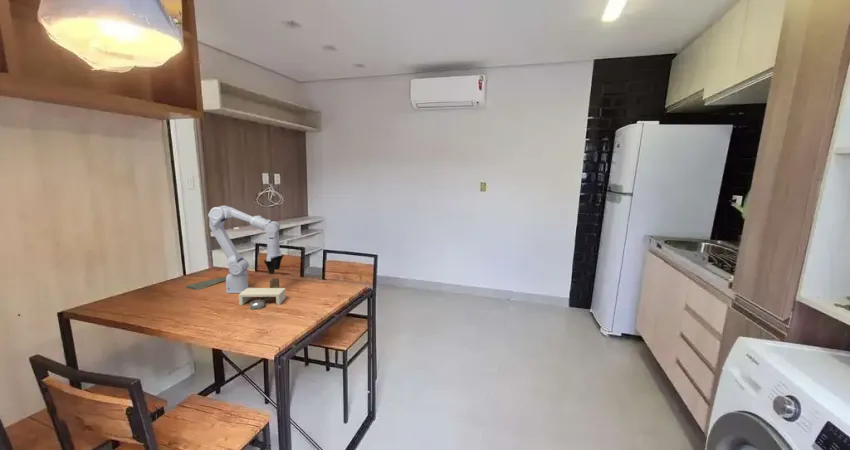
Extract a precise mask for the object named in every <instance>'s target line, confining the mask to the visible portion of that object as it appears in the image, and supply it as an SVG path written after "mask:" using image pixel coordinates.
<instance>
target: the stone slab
mask: <svg viewBox="0 0 850 450" xmlns="http://www.w3.org/2000/svg"><path fill="white" fill-rule="evenodd" d="M226 277H227V276H223V277H217V278H213V279H207V280H202V281H199V282H195V283H190V284H188V285H186V287H185V288H186V289H191V290H194V291H200V290H204V289H205V288H208V287H211V286H213V285H216V284H219V283H222V282H226Z"/></svg>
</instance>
